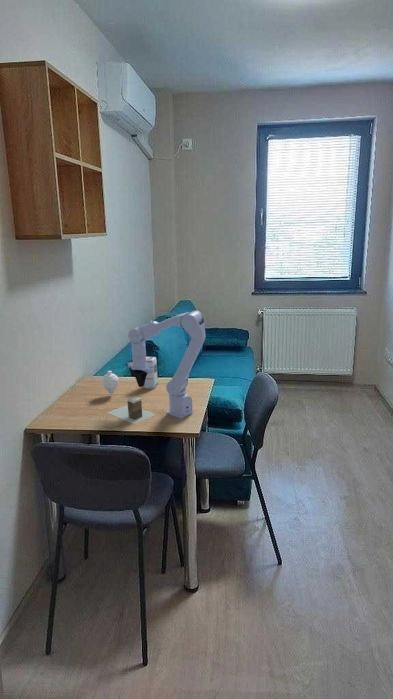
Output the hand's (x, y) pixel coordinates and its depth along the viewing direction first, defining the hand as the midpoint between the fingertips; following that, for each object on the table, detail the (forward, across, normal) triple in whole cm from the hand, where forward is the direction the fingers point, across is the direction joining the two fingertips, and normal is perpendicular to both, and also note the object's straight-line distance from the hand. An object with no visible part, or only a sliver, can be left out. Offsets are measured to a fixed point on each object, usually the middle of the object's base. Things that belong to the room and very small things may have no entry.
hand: (141, 386), depth 194 cm
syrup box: (+10, -19, +21) cm, 30 cm away
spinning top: (+10, -24, +1) cm, 26 cm away
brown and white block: (+10, +5, -8) cm, 14 cm away
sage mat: (+10, +1, -7) cm, 12 cm away
